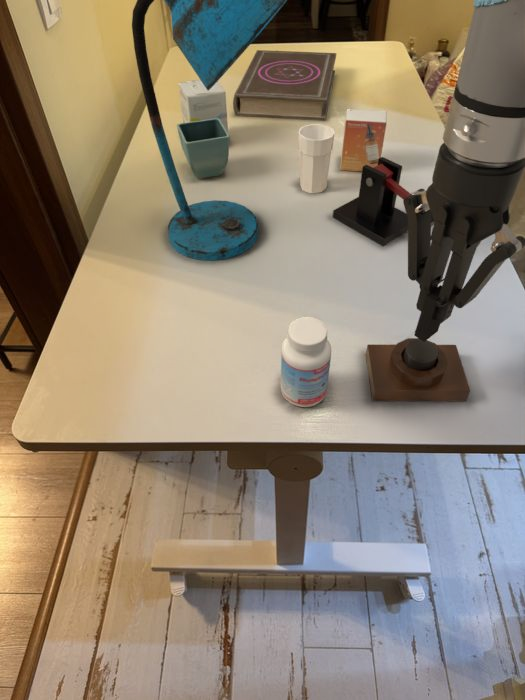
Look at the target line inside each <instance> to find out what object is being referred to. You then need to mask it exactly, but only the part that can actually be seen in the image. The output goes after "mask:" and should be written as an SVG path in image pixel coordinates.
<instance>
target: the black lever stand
mask: <svg viewBox="0 0 525 700" xmlns="http://www.w3.org/2000/svg"><path fill="white" fill-rule="evenodd" d="M380 164H383V165H384V166H385V167H387V168H388V169H389V170H390V171H392V172H393V175H392V177H391V179H393V180H394V181H395V182H396V183H398V184H399V185H400V181H401V175H402V169H403V165H401V164H399V163H397V162H395V161H393V160H390V159H388V158H386V157H384V156H381V158H379V159H378V165H380ZM386 176H387V174H385V173H383V172H381V171H379V170H377V169H375V168H373V167H371V166H368V165H365V166H363V168H362V171H361V176H360V184H359V191H358V196H357V197H356V198H353V199H352V200H350V201H348V202H346V203H344V204H343V205H341V206H338V207H337V208H335V209H333V211H332V218H333V219H335V220H336V221H338V222H340V223H342V224H344V225H345V226H347V227H348V228H351V229H352V230H353V231H356V232H357V233H359V234H360V235H363V236H364V237H366V238H368V239H370V241H371V240H372V241H373V242H375V243H376V244H378V245H380V246H382V247H384V246H385V245H387V244H389V243H390V242H392V241H394V240H395V239H397V238H399V237H400V236H402V235H404V234H405V233H408V217H407V213H406V211H405V212H404V211H403V210H402V209H399V208H397V207H395V206H396V202H397V196H398V195H397V194H396V193H394V192H393V191H392V190H391V189H389V188H388V187H387V186H385V182H386Z"/></svg>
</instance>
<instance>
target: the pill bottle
mask: <svg viewBox="0 0 525 700" xmlns="http://www.w3.org/2000/svg"><path fill="white" fill-rule="evenodd" d="M280 353H281V355H280V358H281V359H280V392H281V394H282V397H283V398H284V399H285V400H286V401H287V402H288V403H290V404H292V405H294V406H296V407H300V408H310V407H313V406H316V405H318V404H320V403H321V402H322V401H323V400H325V397H326V395H327V393H328V384H329V376H330V367H331V358H332V346H331V343H330V341H329V340H328V328H327V326H326V325H325V323H324V322H323V321H322V320H320V319H318V318H316V317H311V316H303V317H299V318H297V319H294V320H293V321H292V322H291V323H290V324H289V326H288V329H287V336H286V337H285V339H284V340H283V342H282V344H281V352H280Z"/></svg>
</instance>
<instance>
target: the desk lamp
mask: <svg viewBox="0 0 525 700" xmlns="http://www.w3.org/2000/svg"><path fill="white" fill-rule="evenodd" d="M287 1H288V0H163V2H165V4H166V6H167V7H168V8H169V11H170V17H171V18H170V19H171V30H172V39H173V41H174V43H175V44H176V46H177V47H178V48H179V50H180V52H181V53H182V54H183V56H184V57H185V59H186V60H187V62H188V64H189V65H190V66H191V68H192V69H193V71H194V72H195V74H196V76H197V77H198V78H199V80H201V81H202V83H203V84H204V86H205V87H206V89H207V90H208V91H209V90H210V89H211V88H212V87H213V86H214V85H215V83H216V82H217V81H218V82H219V81H220V79H221V78H223V76H224V75H225V74H226V73H227V72H228V71H229V70H230V68H231V67H232V66H233V65H234V64H235V63H236V61H237V60H238V59H239V58H240V57H241V56H242V55H243V53H245V52H246V50H247V49H248V48H249V47H250V45H251V44H252V43H253V42H254V41H255V40H256V39H257V37H258V36H259V35H260V34H261V33H262V31H263V30H264V29H265V28H266V27H267V26H268V25H269V23H270V22H271V21H272V20H273V18H274V17H275V16H276V15H277V14H278V13H279V12H280V10H281V9H282V8H283V7H284V5H285V4H286V3H287ZM154 2H155V0H136V2H135V5H134V7H133V10H132V18H131V19H132V20H131V29H132V40H133V48H134V54H135V60H136V66H137V71H138V76H139V80H140V84H141V89H142V92H143V96H144V100H145V104H146V108H147V112H148V116H149V120H150V124H151V129H152V131H153V134H154V138H155V141H156V143H157V144H156V145H157V147H158V150H159V153H160V156H161V159H162V163H163V166H164V169H165V172H166V175H167V178H168V180H169V183H170V186H171V189H172V192H173V195H174V199H175V200H176V203H177V206H178V208H179V211H177V212H176V213H175V214H173V216H172V217H171V219H170V220H169V223H168V225H167V230H168V239H169V243H170V244H171V247H172V248H173V249H174V250H175V251H176V252H177V253H179V254H180V255H183V256H185V257H187V258H190V259H194V260H198V261H212V262H213V261H220V260H221V261H223V260H226V259H231V258H234V257H236V256H238V255H241V254H243V253H245V252H246V251H247V250H249V249H250V248H251V247H252V246H254V244H255V243H256V241H257V239H258V237H259V224H258V223H259V222H258V219H257V216H256V215H255V214H254V212H253V211H252V210H251V209H249V208H248V207H246V206H245V205H242V204H240V203H237V202H234V201H228V200H204V201H199V202H197V203H192V204H190V205H189V203H188V201H187V198H186V195H185V192H184V188H183V186H182V182H181V180H180V177H179V174H178V171H177V169H176V165H175V162H174V159H173V156H172V153H171V149H170V146H169V142H168V138H167V136H166V133H165V129H164V126H163V121H162V117H161V113H160V109H159V104H158V100H157V96H156V92H155V88H154V84H153V80H152V75H151V69H150V63H149V58H148V52H147V43H146V41H147V40H146V33H145V22H146V21H145V20H146V15H147V13H148V10H149V9H150V6H151V5H152V4H153V3H154Z"/></svg>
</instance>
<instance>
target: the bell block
mask: <svg viewBox="0 0 525 700" xmlns="http://www.w3.org/2000/svg"><path fill="white" fill-rule="evenodd" d="M416 339H419V338H417V337H408V338H406V339H403V340H401V341H399V342H397V343H396V344H367V346H366V351H365V361H366V367H367V373H368V381H369V387H370V393H371V399H372V401H373V402H376V401H377V402H379V401H382V402H467V400H468V398H469V396H470V393H471V387H470V384H469V382H468V379H467V376H466V372H465V369H464V366H463V362H462V360H461V356H460V353H459V350H458V347H457V344H437V343H435V342H434V341H433V342H432V341H430V340H429V339H427V340H426V341H429V342H431V343H432V344H434V345H435V346H436V348H437V350H438V356H437V359H436V362H435V365H434V366H433V367H432V368H431V369H429V370H427V371H417V370H414V369H412V368H410V367H409V366H408V365H407V364H406V363H405V361H404V353H405V349H406V346H407V344H408V343H409V342H410V341H412V340H416Z"/></svg>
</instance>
